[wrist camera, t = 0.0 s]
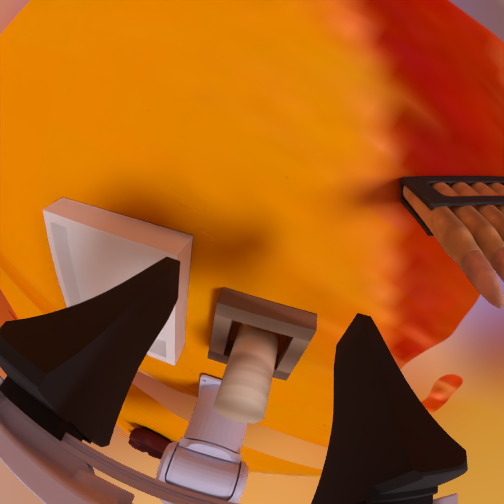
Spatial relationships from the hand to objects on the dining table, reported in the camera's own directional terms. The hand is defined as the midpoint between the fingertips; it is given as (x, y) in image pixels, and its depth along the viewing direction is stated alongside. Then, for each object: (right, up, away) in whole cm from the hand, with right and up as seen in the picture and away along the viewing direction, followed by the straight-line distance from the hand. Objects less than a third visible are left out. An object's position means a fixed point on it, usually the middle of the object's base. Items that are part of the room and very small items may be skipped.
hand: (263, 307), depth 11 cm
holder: (0, -6, +15) cm, 16 cm away
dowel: (0, -6, +16) cm, 16 cm away
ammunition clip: (+15, +7, +5) cm, 17 cm away
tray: (-14, -1, +16) cm, 21 cm away
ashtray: (-25, -49, +49) cm, 74 cm away
